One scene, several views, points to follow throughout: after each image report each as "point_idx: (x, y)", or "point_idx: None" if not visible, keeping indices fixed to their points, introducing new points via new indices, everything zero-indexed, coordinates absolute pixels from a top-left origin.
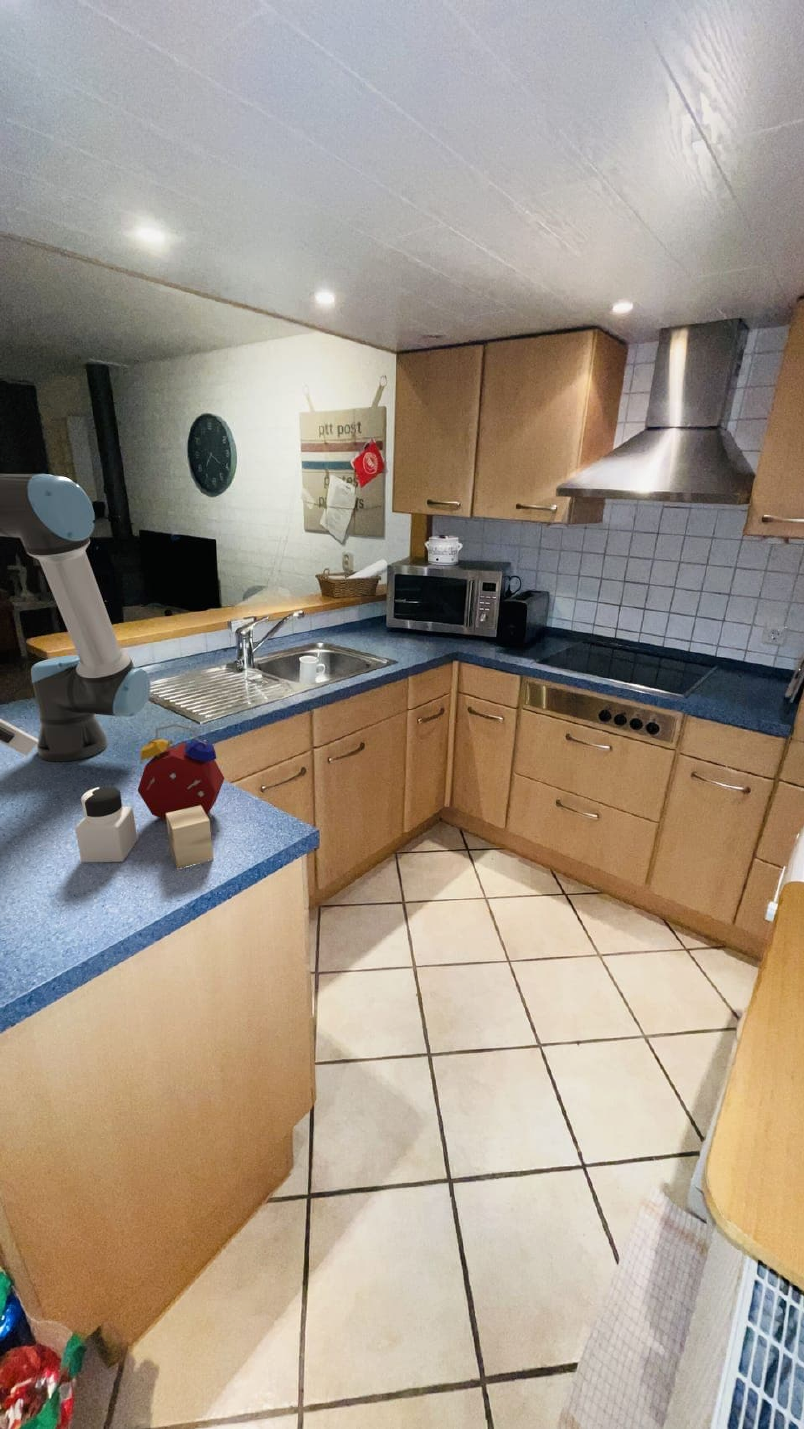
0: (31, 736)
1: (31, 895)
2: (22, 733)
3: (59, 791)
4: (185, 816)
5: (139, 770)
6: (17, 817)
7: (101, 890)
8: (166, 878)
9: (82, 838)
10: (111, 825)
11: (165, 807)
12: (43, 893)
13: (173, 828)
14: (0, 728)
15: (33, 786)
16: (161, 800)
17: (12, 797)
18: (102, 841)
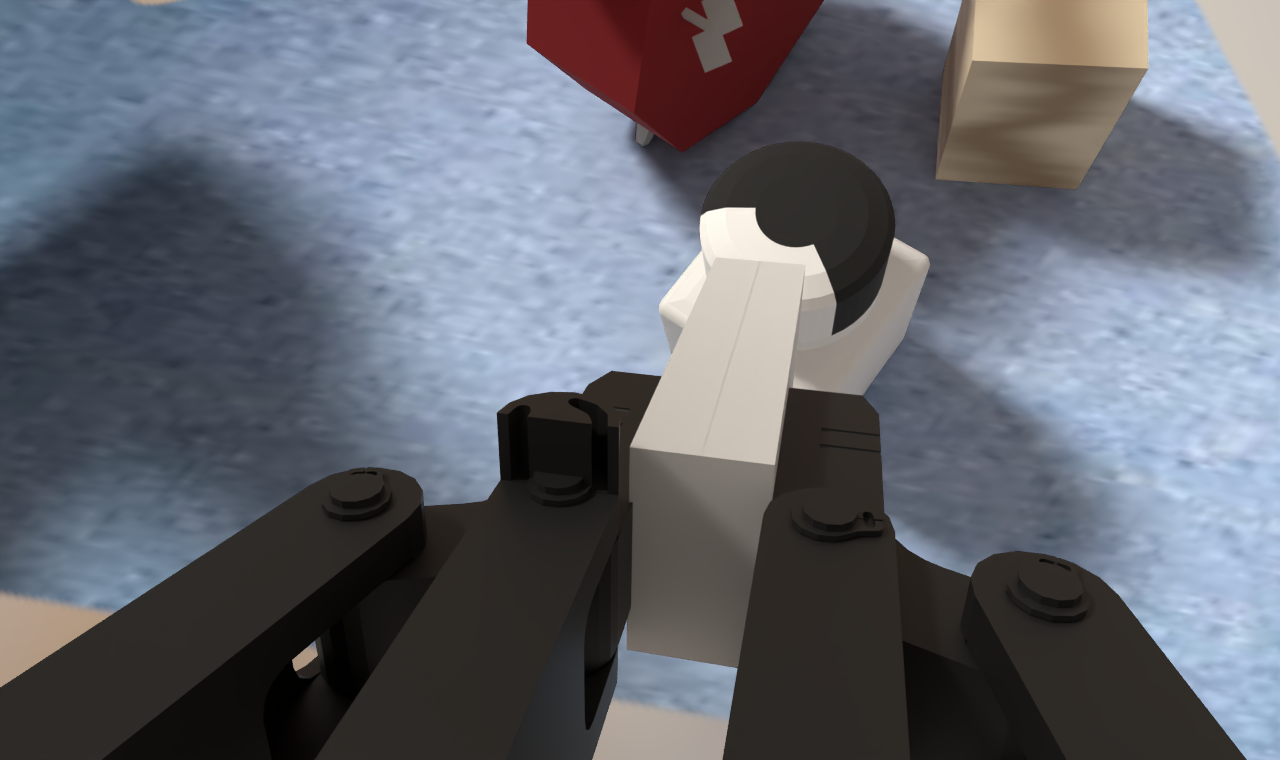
0: (728, 280)
1: None
2: (780, 320)
3: (137, 417)
4: (1051, 4)
5: (197, 119)
6: None
7: (1068, 446)
8: (1116, 235)
9: None
10: (906, 274)
11: (718, 86)
12: None
13: (1143, 64)
14: (851, 479)
15: (4, 500)
16: (709, 73)
17: (38, 595)
18: (882, 348)
